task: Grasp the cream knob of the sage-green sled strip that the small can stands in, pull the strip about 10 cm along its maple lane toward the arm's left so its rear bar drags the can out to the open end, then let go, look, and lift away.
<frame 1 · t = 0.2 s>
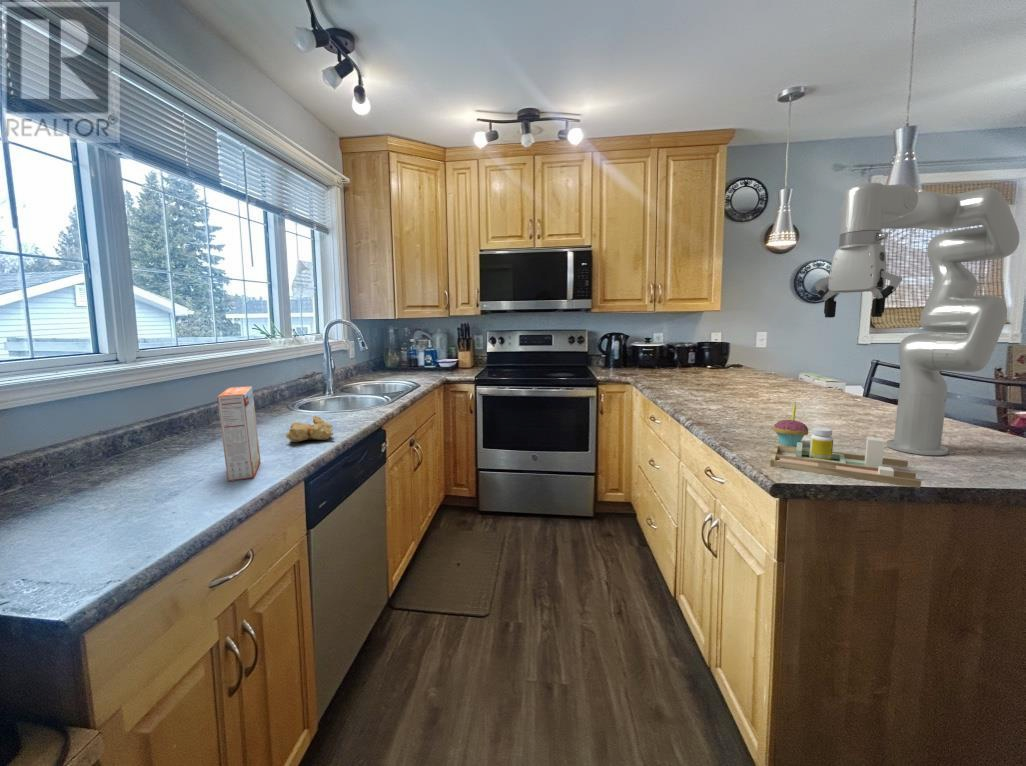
hand: (852, 317, 104), 36 cm above the countertop, tool pointing down, fingers open, 9 cm apart
strip b broken: (841, 472, 105), resting in lane rails
sled: (837, 448, 111), point 4 cm above the countertop, slide at 0.0 cm
lane rails: (839, 463, 111), on the countertop
cupcake: (789, 444, 129), on the countertop
ginger root: (311, 440, 142), on the countertop
cracker box: (244, 472, 112), on the countertop
supplement bottle: (819, 461, 113), resting in sled
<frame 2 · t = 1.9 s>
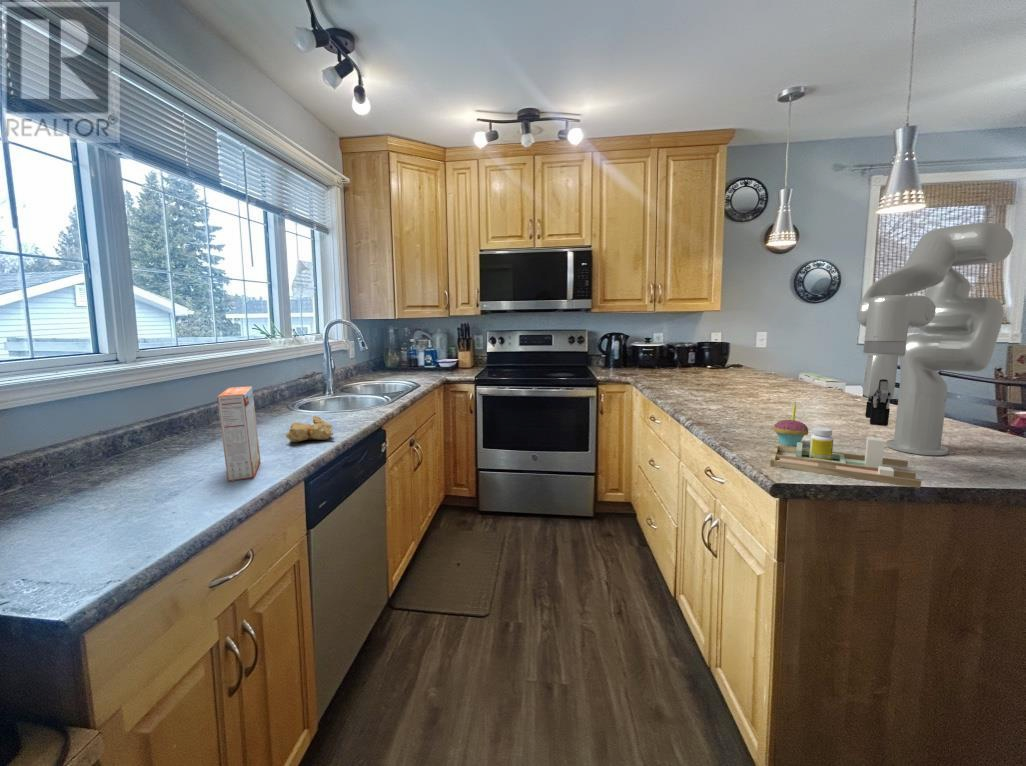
hand: (875, 421, 105), 12 cm above the countertop, tool pointing down, fingers open, 9 cm apart
nothing on the countertop moved.
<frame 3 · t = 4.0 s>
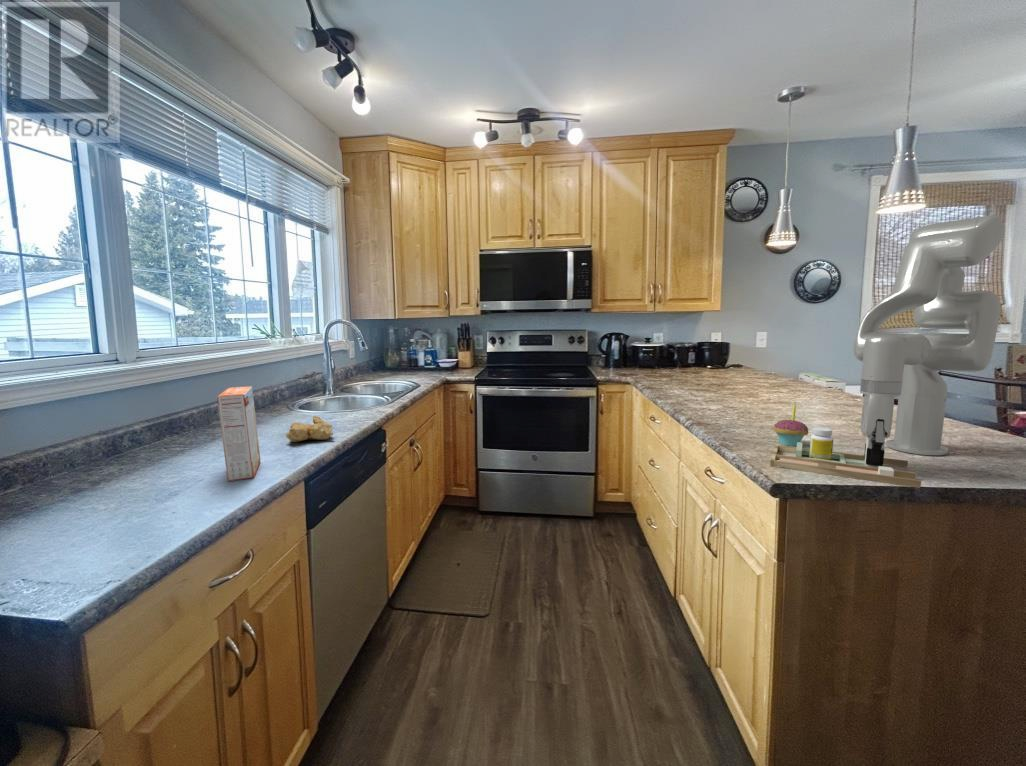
hand: (873, 462, 107), 1 cm above the countertop, tool pointing down, fingers closed on sled, 3 cm apart
sled: (837, 448, 111), point 4 cm above the countertop, slide at 0.0 cm, touching gripper
everything else where it was.
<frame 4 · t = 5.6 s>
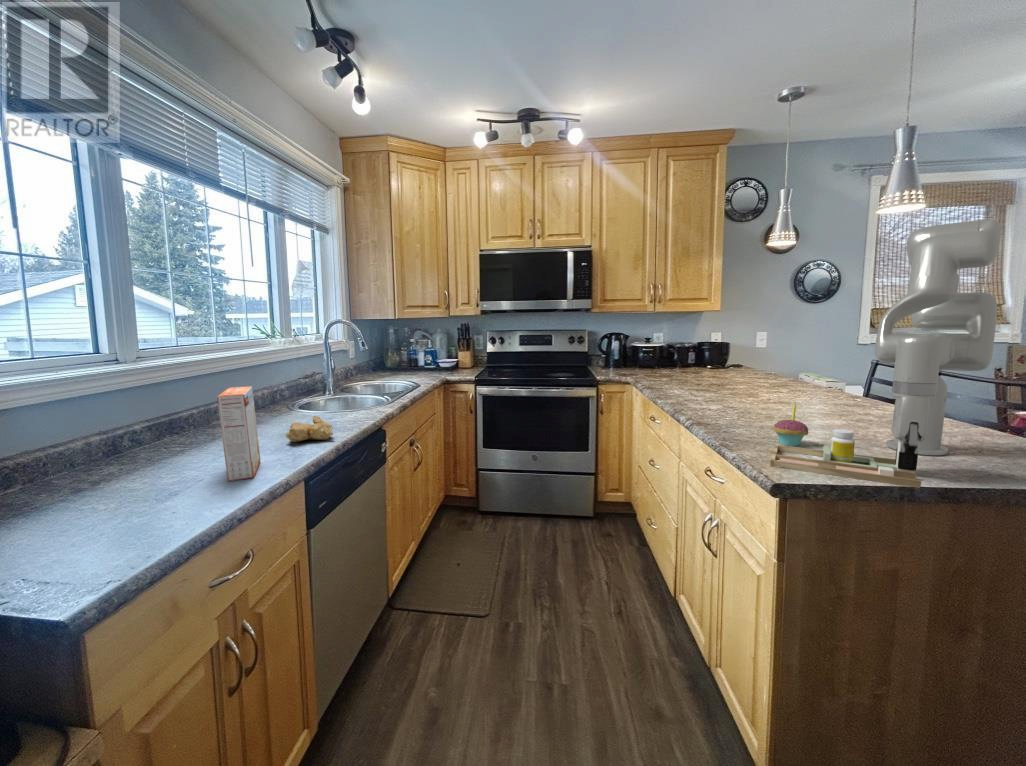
hand: (905, 466, 104), 1 cm above the countertop, tool pointing down, fingers closed on sled, 3 cm apart
sled: (867, 452, 108), point 4 cm above the countertop, slide at 5.9 cm, touching supplement bottle, gripper
supplement bottle: (840, 464, 111), resting in sled
everything else where it was.
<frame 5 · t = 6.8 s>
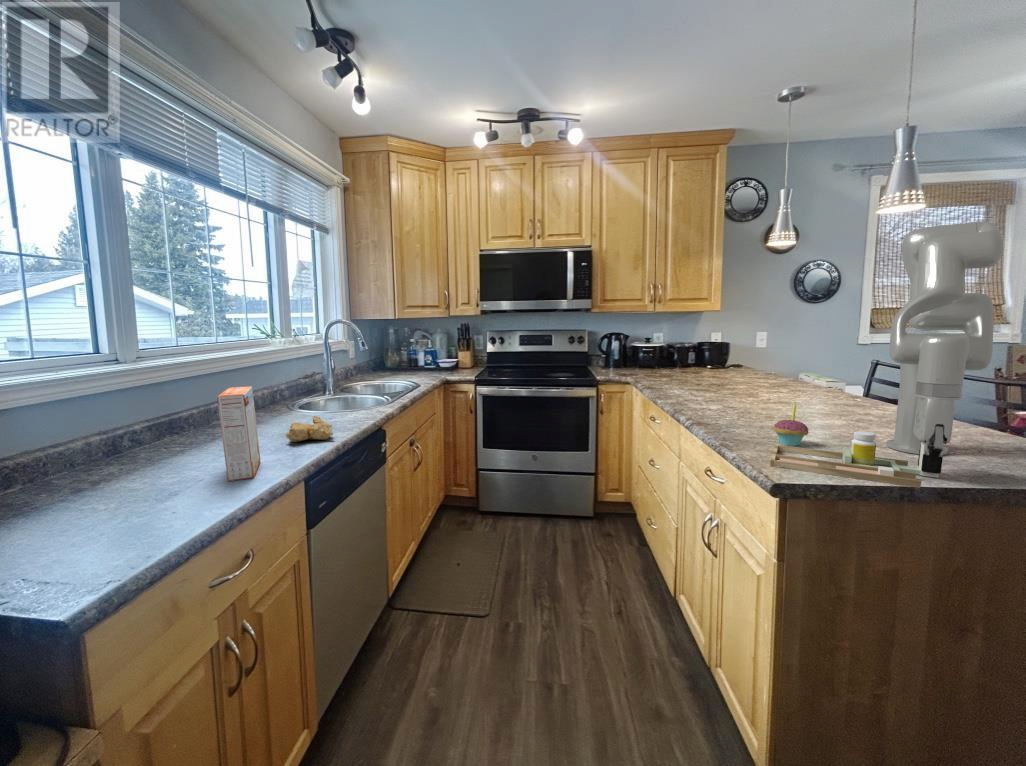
hand: (928, 469, 102), 1 cm above the countertop, tool pointing down, fingers closed on sled, 3 cm apart
sled: (889, 454, 105), point 4 cm above the countertop, slide at 10.0 cm, touching gripper
supplement bottle: (861, 467, 109), resting in sled
everything else where it was.
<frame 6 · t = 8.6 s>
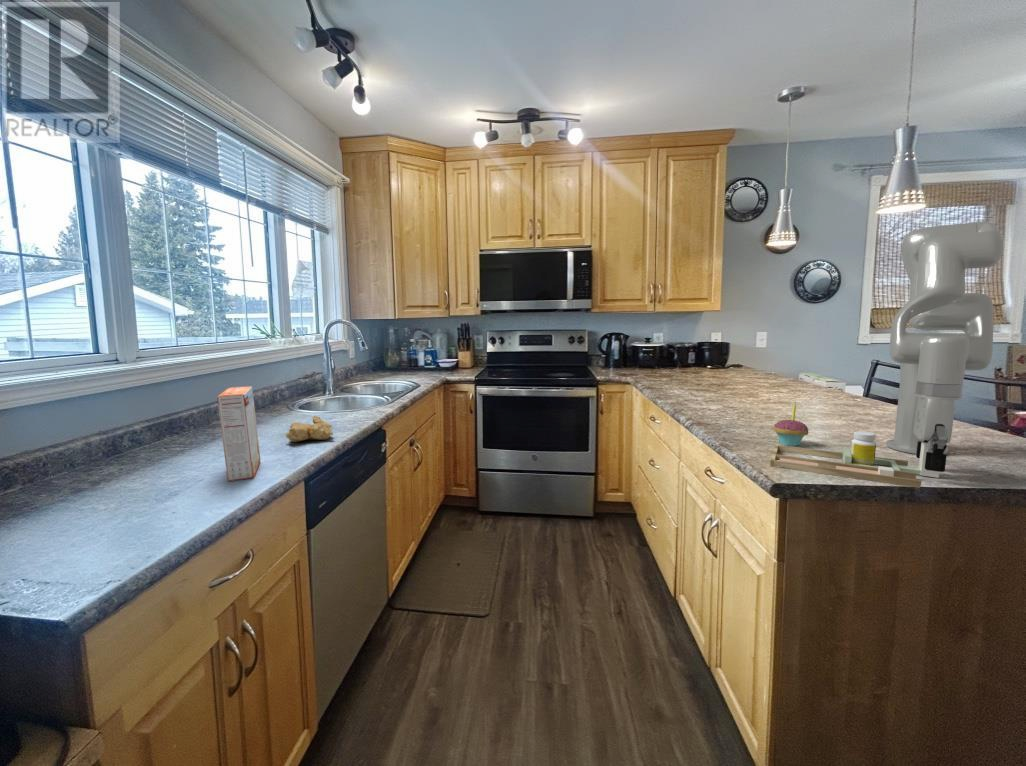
hand: (929, 464, 102), 3 cm above the countertop, tool pointing down, fingers open, 9 cm apart
sled: (889, 454, 105), point 4 cm above the countertop, slide at 10.0 cm
everything else where it was.
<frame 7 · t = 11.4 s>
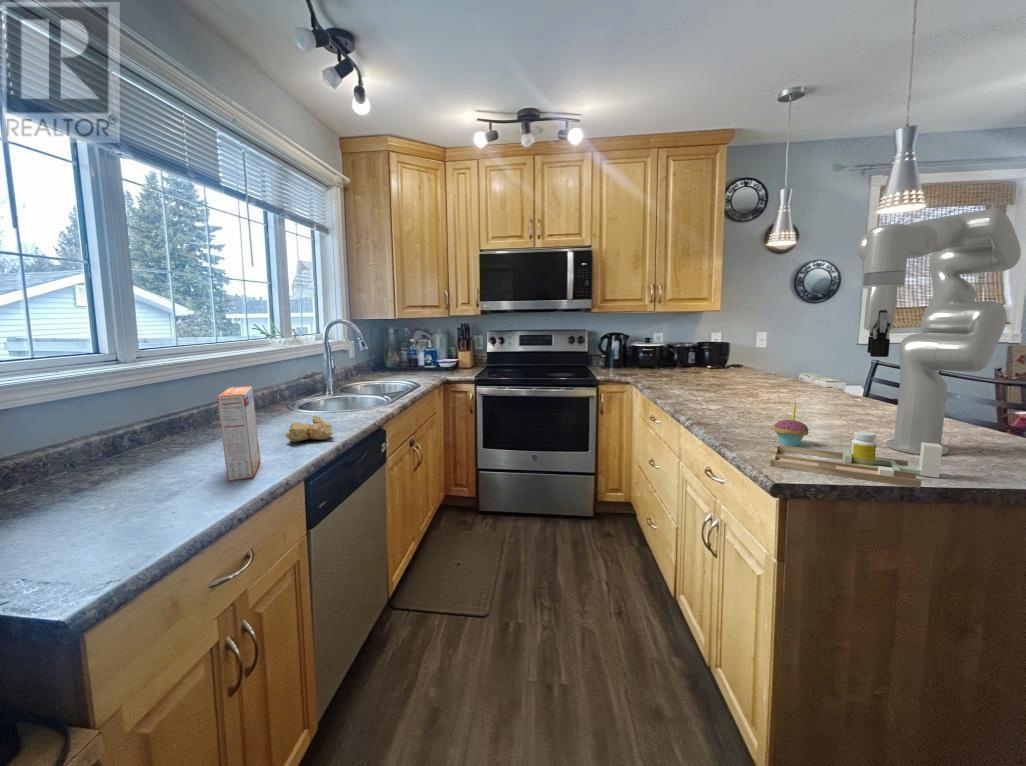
hand: (877, 354, 105), 27 cm above the countertop, tool pointing down, fingers open, 9 cm apart
nothing on the countertop moved.
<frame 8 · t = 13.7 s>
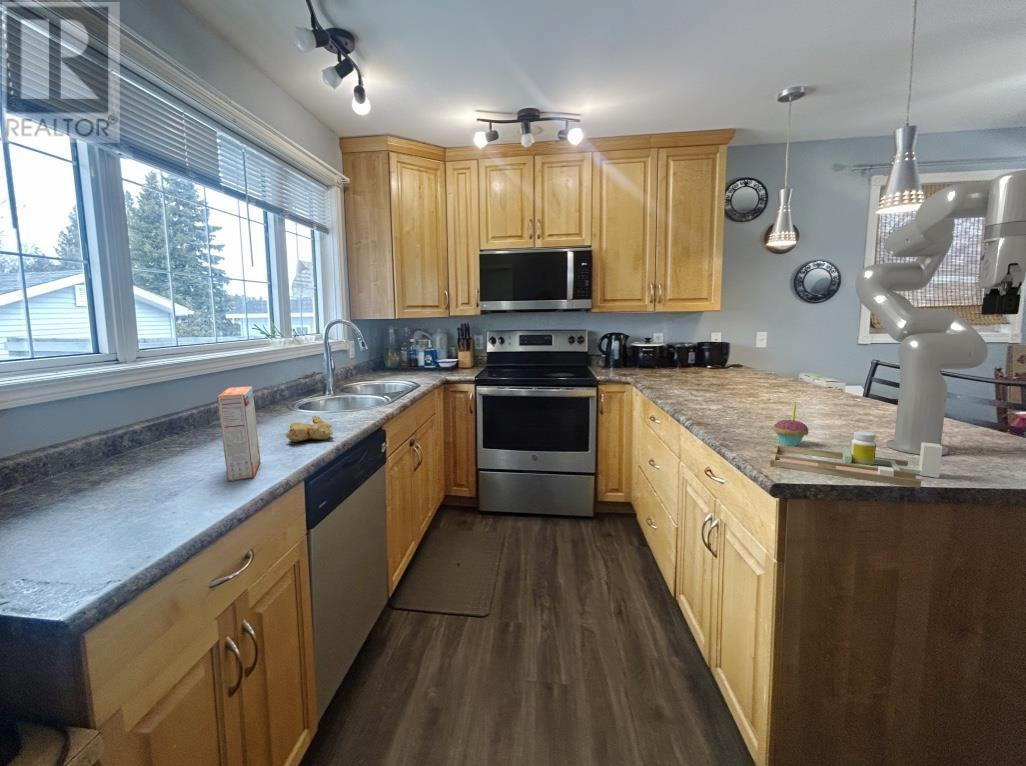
hand: (998, 314, 97), 36 cm above the countertop, tool pointing down, fingers open, 9 cm apart
nothing on the countertop moved.
at the end: sled slide at 10.0 cm; supplement bottle moved 8.4 cm from its start; supplement bottle tilted 0° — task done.
